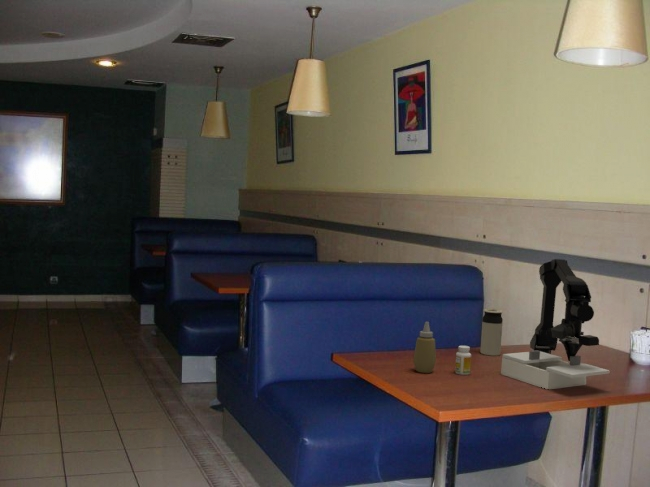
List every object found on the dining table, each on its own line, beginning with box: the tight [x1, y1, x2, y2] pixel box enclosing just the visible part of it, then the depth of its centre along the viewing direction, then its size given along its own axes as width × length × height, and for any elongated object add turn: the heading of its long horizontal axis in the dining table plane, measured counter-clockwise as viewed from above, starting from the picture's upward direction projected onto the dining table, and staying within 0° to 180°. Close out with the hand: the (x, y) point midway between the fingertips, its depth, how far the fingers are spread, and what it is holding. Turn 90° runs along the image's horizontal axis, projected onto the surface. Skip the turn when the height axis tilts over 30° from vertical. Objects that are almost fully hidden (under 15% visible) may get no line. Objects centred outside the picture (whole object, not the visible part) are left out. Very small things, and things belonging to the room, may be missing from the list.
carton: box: [500, 357, 588, 390], centre depth 262 cm, size 19×22×6 cm
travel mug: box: [479, 308, 504, 357], centre depth 301 cm, size 8×8×18 cm
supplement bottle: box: [454, 345, 472, 376], centre depth 265 cm, size 5×5×10 cm
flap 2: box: [546, 355, 611, 378], centre depth 249 cm, size 18×11×4 cm, turn 120°
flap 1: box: [502, 350, 563, 364], centre depth 267 cm, size 18×11×4 cm, turn 120°
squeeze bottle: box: [413, 321, 437, 374], centre depth 265 cm, size 8×8×18 cm
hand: (570, 361), depth 257 cm, fingers closed
